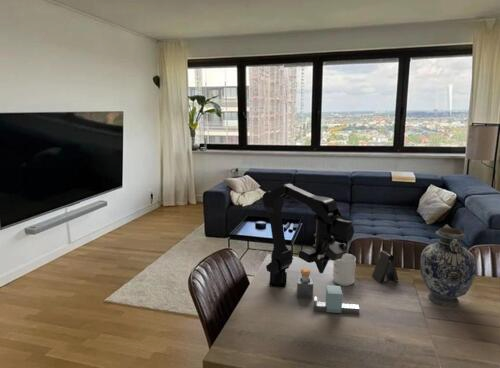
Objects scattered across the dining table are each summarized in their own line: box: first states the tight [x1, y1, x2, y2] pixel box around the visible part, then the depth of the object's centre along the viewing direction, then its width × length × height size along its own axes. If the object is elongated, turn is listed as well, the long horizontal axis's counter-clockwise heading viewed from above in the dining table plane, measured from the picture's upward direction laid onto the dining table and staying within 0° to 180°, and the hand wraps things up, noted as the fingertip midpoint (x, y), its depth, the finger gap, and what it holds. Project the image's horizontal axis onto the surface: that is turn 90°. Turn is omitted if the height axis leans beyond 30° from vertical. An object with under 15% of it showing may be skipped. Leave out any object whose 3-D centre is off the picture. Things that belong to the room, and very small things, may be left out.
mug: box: [332, 252, 357, 287], centre depth 151 cm, size 12×9×11 cm
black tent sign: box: [371, 250, 399, 284], centre depth 153 cm, size 9×6×12 cm, turn 104°
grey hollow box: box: [296, 275, 314, 300], centre depth 139 cm, size 6×6×6 cm
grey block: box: [325, 284, 344, 314], centre depth 128 cm, size 5×6×7 cm
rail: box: [312, 296, 360, 315], centre depth 129 cm, size 16×3×4 cm, turn 83°
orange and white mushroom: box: [300, 268, 311, 283], centre depth 139 cm, size 4×4×7 cm
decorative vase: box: [419, 224, 478, 308], centre depth 134 cm, size 21×19×28 cm
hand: (321, 272), depth 132 cm, fingers closed
